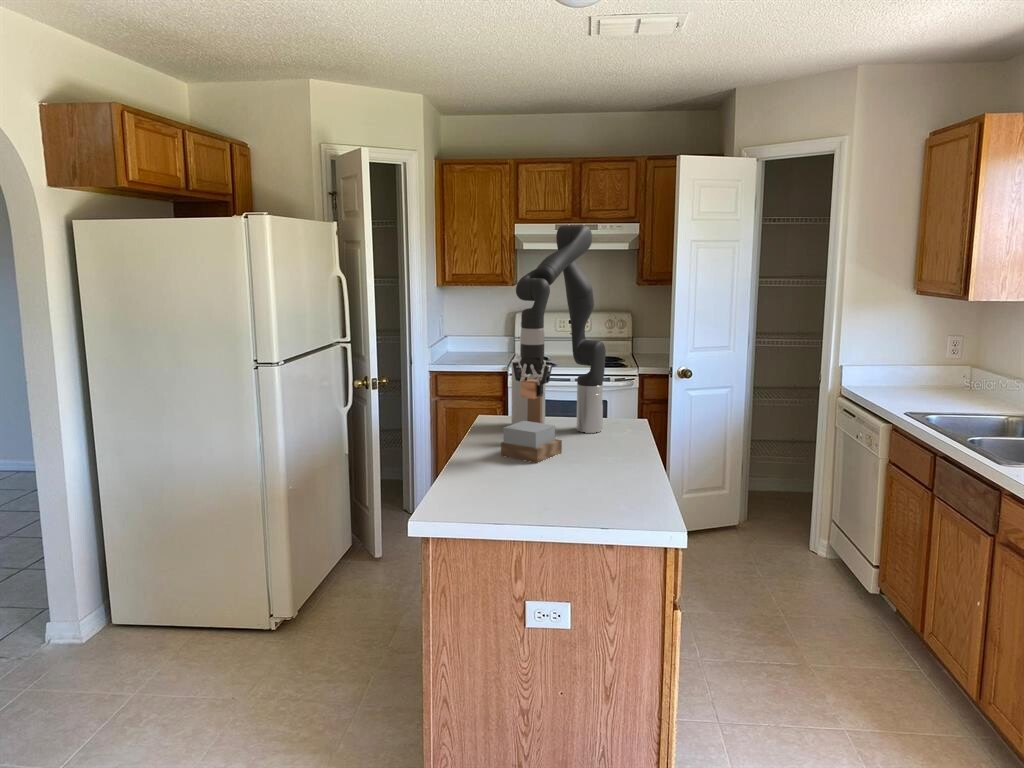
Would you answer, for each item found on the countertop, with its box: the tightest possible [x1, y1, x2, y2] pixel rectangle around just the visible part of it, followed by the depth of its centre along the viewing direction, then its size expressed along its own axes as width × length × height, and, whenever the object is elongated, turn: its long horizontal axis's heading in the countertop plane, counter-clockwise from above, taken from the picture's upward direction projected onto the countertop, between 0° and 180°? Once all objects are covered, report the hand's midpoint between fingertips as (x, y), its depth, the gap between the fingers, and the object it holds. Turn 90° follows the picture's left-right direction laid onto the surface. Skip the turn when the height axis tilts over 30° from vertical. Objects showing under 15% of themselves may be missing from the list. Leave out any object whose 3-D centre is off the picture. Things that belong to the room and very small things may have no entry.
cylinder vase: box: [511, 358, 547, 425], centre depth 274 cm, size 12×12×25 cm
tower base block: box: [500, 438, 563, 464], centre depth 238 cm, size 14×14×5 cm
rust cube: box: [521, 380, 543, 399], centre depth 234 cm, size 5×5×5 cm
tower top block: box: [503, 421, 556, 448], centre depth 237 cm, size 12×12×5 cm
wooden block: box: [527, 397, 543, 423], centre depth 252 cm, size 9×4×18 cm, turn 80°
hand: (531, 395), depth 235 cm, fingers closed on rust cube, 5 cm apart
